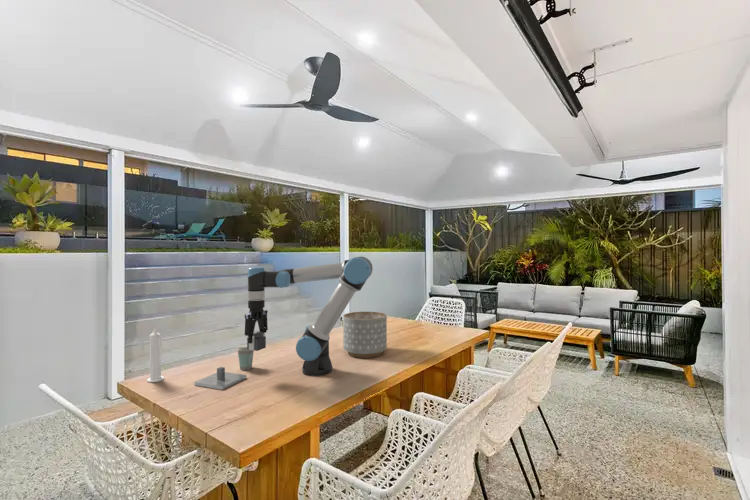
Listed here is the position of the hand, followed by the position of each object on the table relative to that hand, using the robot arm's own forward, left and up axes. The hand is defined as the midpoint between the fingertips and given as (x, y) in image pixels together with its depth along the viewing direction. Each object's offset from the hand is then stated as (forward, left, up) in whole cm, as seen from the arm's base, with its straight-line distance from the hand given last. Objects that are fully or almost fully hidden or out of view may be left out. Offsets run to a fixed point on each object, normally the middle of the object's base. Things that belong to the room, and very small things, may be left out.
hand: (256, 347), depth 186 cm
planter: (-31, -59, -15) cm, 69 cm away
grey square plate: (+14, +9, -15) cm, 22 cm away
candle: (+45, +18, -15) cm, 50 cm away
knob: (0, 0, 0) cm, 0 cm away
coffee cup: (+16, -11, -15) cm, 24 cm away
